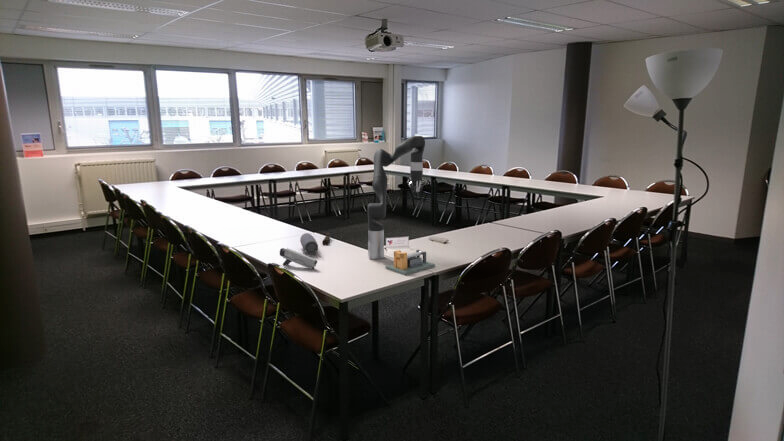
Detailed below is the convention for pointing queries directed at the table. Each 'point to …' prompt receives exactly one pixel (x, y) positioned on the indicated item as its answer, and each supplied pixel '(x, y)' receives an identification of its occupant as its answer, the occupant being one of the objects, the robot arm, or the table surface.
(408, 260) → the heat sink
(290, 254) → the gun
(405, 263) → the tan upright block
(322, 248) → the table surface
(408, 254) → the grey rod
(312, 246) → the bluetooth speaker
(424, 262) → the socket board
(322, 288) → the table surface
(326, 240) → the hand tool
